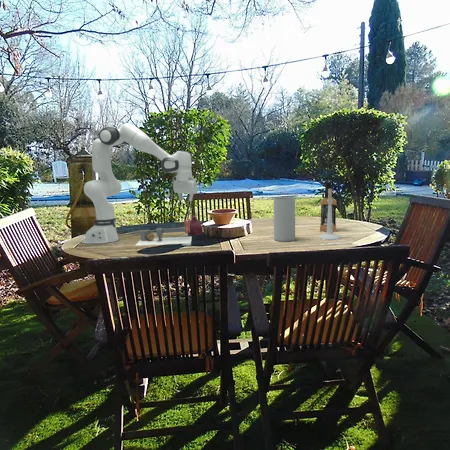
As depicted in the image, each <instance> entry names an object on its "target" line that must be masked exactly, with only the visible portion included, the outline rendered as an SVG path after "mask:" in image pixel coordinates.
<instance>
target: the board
mask: <svg viewBox="0 0 450 450" xmlns="http://www.w3.org/2000/svg"><path fill="white" fill-rule="evenodd" d="M139 233H140V234H139V235H140V239H139V240H138V242H136V244H135V247H136V246H156V245H157V246H158V245H161V246H162V245H179V244H181V246H192V238H193V237H192V235H190V236H175V237H174V236H171V237H162V236H163V235H162V236H157V237H154V239H153V240H152V241H149V240H148V239H147V235H148V234H150V233H151V234H152V230H151V229H144V230H140V232H139Z"/></svg>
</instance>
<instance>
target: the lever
mask: <svg viewBox="0 0 450 450" xmlns="http://www.w3.org/2000/svg"><path fill="white" fill-rule="evenodd" d="M190 220H191V219H184V227H172V228H171V227H170V228H163V227H157V228H155V231H156V236H157V237H158V236H163V234H171V233H185V234H187V233H190Z"/></svg>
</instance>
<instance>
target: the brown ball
mask: <svg viewBox="0 0 450 450" xmlns="http://www.w3.org/2000/svg"><path fill="white" fill-rule="evenodd" d="M154 238H155V235H154V234H153V233H152V232H151V233H150V234H148V235H147V239H148V240H149V241H152V240H153V239H154Z"/></svg>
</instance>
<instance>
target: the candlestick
mask: <svg viewBox="0 0 450 450" xmlns="http://www.w3.org/2000/svg"><path fill="white" fill-rule="evenodd" d="M332 189H333V188H331V189H328V200H327V201H328V218H327V232H326V233H323V234H320V235H319V236H318V239H319V238H320V240H322V239H325V240H324V241H337V240H336V239H339V240H341V239H342V238H341V236H340V235H339V234H336V233H334V232H333V227H332V206H331V204H332V201H333V200H332V198H333V190H332ZM340 238H341V239H340Z"/></svg>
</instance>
